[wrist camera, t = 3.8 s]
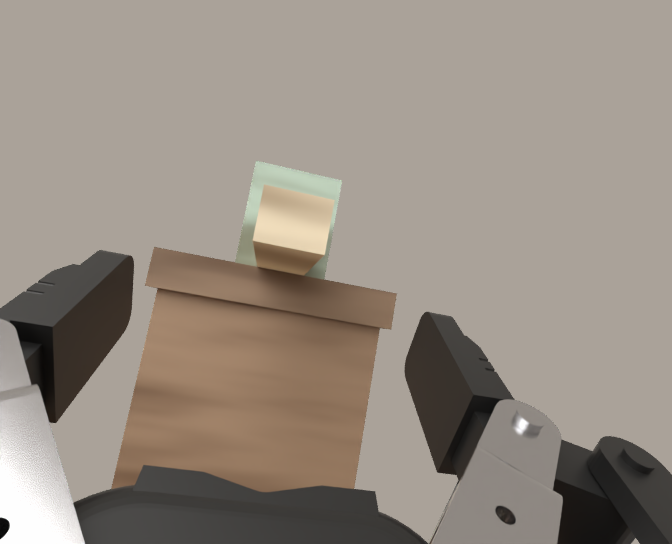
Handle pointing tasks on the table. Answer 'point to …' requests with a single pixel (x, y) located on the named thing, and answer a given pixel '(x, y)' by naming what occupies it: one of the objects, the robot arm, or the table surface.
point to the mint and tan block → (289, 221)
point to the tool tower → (252, 375)
